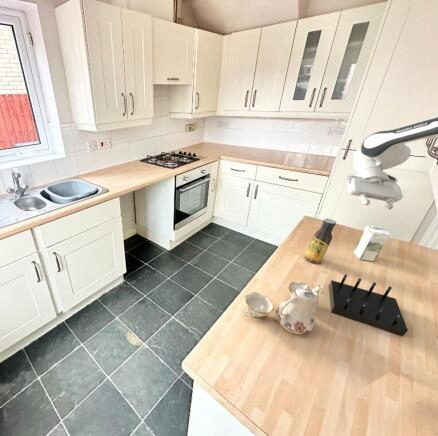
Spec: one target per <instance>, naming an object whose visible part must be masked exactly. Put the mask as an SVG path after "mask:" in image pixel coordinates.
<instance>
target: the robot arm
mask: <svg viewBox="0 0 438 436" xmlns="http://www.w3.org/2000/svg"><path fill="white" fill-rule="evenodd" d="M424 139H425V140H426V139H437V140H438V117H434V118H431V119H427V120H423V121H419V122H416V123H412V124H409V125H408V124H407V125H405V126H402V127H399V128H395V129H389V130H381V131H377V132H374V133H372V134H369V135H368V136H367V137H366V138H365V139H364V140H363V141H362V143H361V146H360V148H358V149H357V150H356V151H354V153H353V155H352V164H353V169H354V171H355V175H353V174H352V175H348V177H347V178H346V180H347V192H348V194H349V195H351V196H355V197H358V199H359V201H361V203H362V205H363V206H368V205H370V204H371V201H370V200H377V201H382V202H385V203H386V204H385V205H384V207H385V210H392V209H394V204H395V203H398V202H400V201H401V200H403V197H404V196H403V192H402V189H401V187H400V185H399V183H398V181H399V180H398V178H396V177H395V176H392V175H391V174H388V173H387V172H385V171H384V170H388V169H392V168H394V167H397V166H399V165H402V164H404V163H405V162H406V161H407V160H408V159H409V158H410V156H411V153H412V152H411V151H412V150H411V147H409V146H408V145H406V144H408V143H412V142H416V141H420V140H421V141H422V140H424Z"/></svg>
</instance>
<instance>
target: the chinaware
mask: <svg viewBox="0 0 438 436" xmlns="http://www.w3.org/2000/svg"><path fill="white" fill-rule="evenodd" d="M287 289H288V292H289V295H290V298H288V299H287V300H286V301H282V302H281V303H280V304H279V305H278V308H277V309H276V310H275V307H274V305H273V303H272V300H271V299H270V297H268V296H267V295H262V294H261V293H259V292H256V291H254V292H251V293H249V294H246V295H245V296H244V300H245V301H244V302H245V304H246V309H245V311H244V314H243V315H244V316H245V317H248V316H250V317H253V318H259V319H261V318H263V317H265V316H267V315H268V314H269V313H272V311H274V310H275V311H274V312H275V315H276V316H277V321H278V324H279V325H280V327H281V328H282V329H284V330H285V331H286V332H288V333H290V334H293V335H295V336H296V335H297V336H303V335H305V334H308V333H311V332H312V331H313V328H314V326H315V325H316V319H315V317H314V313H315V312H316V311H317V308H318V305H319V304H318V303H319V298H320V297H319V294H320V291H321V290H322V289H323V286H322V285H317V286H316V287H315V288H311V286H309V285H308V284H307V283H305V282H298V283H297V281H296V282H295V281H291V282H290V283H289V285H288V288H287ZM248 311H249V313H247V312H248Z"/></svg>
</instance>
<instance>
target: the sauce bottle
mask: <svg viewBox="0 0 438 436" xmlns="http://www.w3.org/2000/svg"><path fill="white" fill-rule="evenodd" d="M336 224H337V221H336V220H334V219H332V218H324V219H323V221H322V224H321V227H320V228H319V229H318V230H317V231H316V232H315V233H314V234H313V236H312V238H311V240H310V242H309V245H308V247H307V249H306V252H305V256H304V258H305V260H306V261H307V262H309V263H312V264H320V263H321V262H322V261H323V259H324V258H325V255H326V253H327V251H328V249H329V247H330V245H331V242H332V240H333V233H332V232H333V229H334V227H335V226H336Z"/></svg>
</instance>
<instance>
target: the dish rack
mask: <svg viewBox="0 0 438 436" xmlns="http://www.w3.org/2000/svg"><path fill="white" fill-rule="evenodd" d="M347 277H348V274H344V275H343V277H342V278H341V281H337V280H332V279H331V280H330V282H329V284H328V293H329V306H330V313H331V314H334V315H337V316H340V317H343V318H346V319H349V320H352V321H355V322H358V323H361V324H364V325H367V326H370V327H373V328H376V329H379V330H381V331H384V332H387V333H391V334H393V335H397V336H399V337H404V336H405V335H406V333H407V332H408V331H409V329H408V326H407V324H406V322H405V319H404V316H403V313H402V312H401V309H400V307H399V304H398V301H397V298H395V297H393V296H392V297H391V296H388V295H389V293H390V292H391V290H392V289H393V287H392V286H391V285H389V286H388V287H387V289H386V290H385V292H384V293H383V294H382V293H378V292H374V291H373V290H374V289H375V287H376V285H377V282H376V281H374V282H372V284H371V286H370V287H369V289H368V290H367V289H363V288H361V287H359V285H360V283H361V281H362V278H361V277H358V279H357V281H356V282H355V284H354V286H353V285H350V284H347V283H345V281H346V279H347Z"/></svg>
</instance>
